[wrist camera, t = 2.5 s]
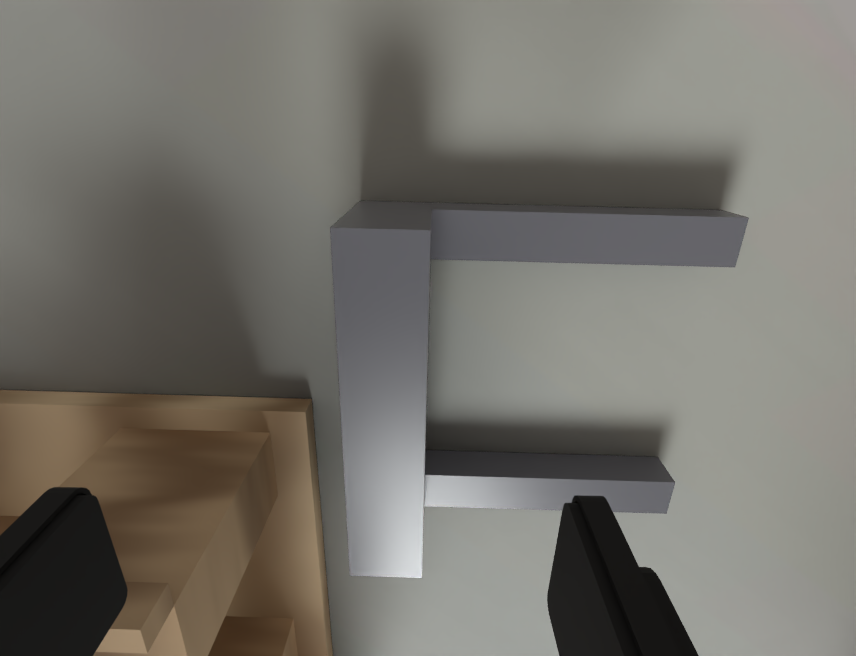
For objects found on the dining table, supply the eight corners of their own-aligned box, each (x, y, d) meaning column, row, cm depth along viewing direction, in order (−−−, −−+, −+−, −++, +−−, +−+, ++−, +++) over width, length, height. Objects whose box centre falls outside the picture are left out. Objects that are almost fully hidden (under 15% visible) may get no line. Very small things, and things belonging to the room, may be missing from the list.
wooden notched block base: (311, 398, 20) (205, 626, 11) (332, 655, 26) (277, 936, 17) (-98, 387, 20) (-547, 601, 11) (20, 645, 26) (-202, 918, 17)
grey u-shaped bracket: (368, 478, 21) (349, 575, 16) (360, 200, 16) (330, 227, 12) (650, 486, 21) (710, 586, 16) (720, 210, 16) (832, 240, 12)
